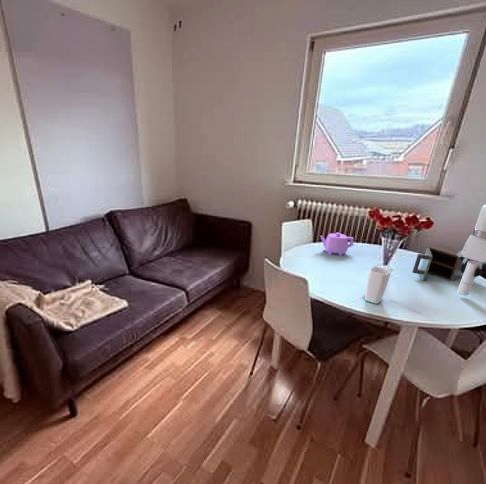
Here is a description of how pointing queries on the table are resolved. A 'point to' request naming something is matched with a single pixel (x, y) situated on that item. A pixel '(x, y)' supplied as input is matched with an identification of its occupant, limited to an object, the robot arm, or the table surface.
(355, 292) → the table surface
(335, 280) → the table surface
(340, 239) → the teapot
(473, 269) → the tube
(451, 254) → the cupboard
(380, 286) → the cup
